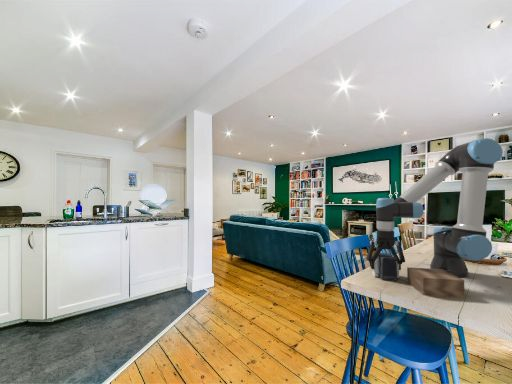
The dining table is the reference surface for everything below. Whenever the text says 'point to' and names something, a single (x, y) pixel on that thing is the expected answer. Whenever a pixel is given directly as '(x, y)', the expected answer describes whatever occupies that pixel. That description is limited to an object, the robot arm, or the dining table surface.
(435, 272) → the walnut block
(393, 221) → the robot arm
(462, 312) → the dining table surface
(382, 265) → the small box
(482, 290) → the dining table surface
